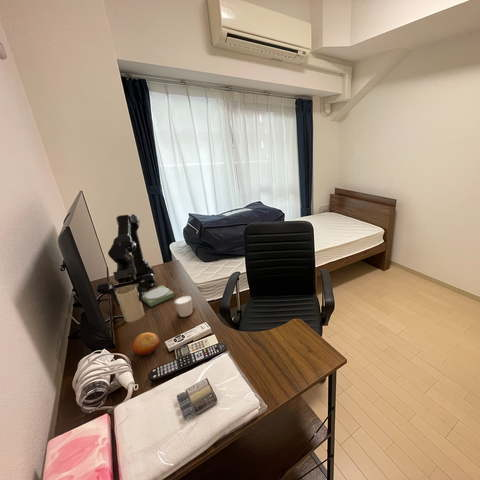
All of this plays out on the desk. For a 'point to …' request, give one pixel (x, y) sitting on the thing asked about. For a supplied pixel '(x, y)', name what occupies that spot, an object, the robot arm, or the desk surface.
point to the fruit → (145, 343)
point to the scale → (157, 295)
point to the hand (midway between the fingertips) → (129, 303)
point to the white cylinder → (184, 306)
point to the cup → (130, 303)
